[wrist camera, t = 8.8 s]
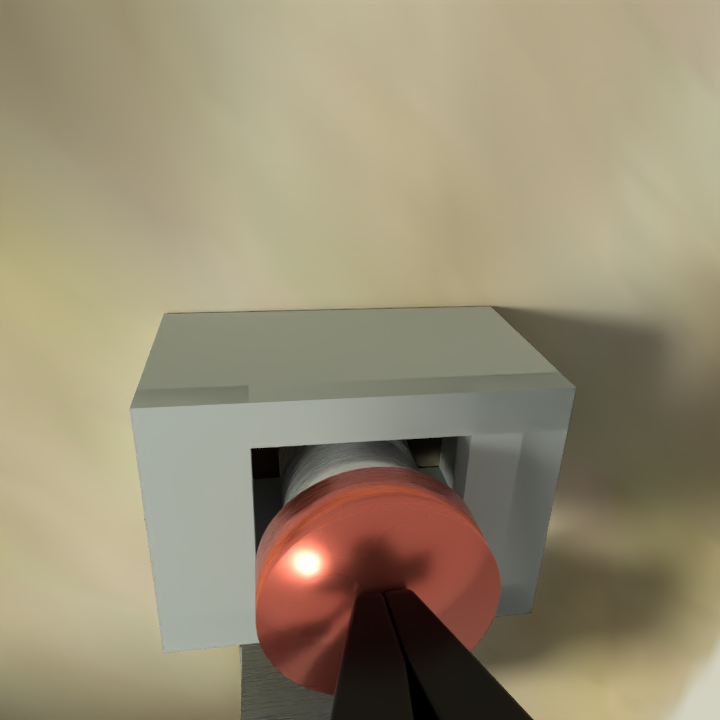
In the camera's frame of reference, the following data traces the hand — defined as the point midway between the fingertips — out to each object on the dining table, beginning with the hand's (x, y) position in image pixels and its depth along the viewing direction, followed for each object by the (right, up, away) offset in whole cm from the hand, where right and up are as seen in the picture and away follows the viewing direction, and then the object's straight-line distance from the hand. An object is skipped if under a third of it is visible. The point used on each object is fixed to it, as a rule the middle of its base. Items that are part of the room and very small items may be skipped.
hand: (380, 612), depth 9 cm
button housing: (-1, +2, +5) cm, 6 cm away
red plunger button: (-1, +2, +5) cm, 5 cm away
